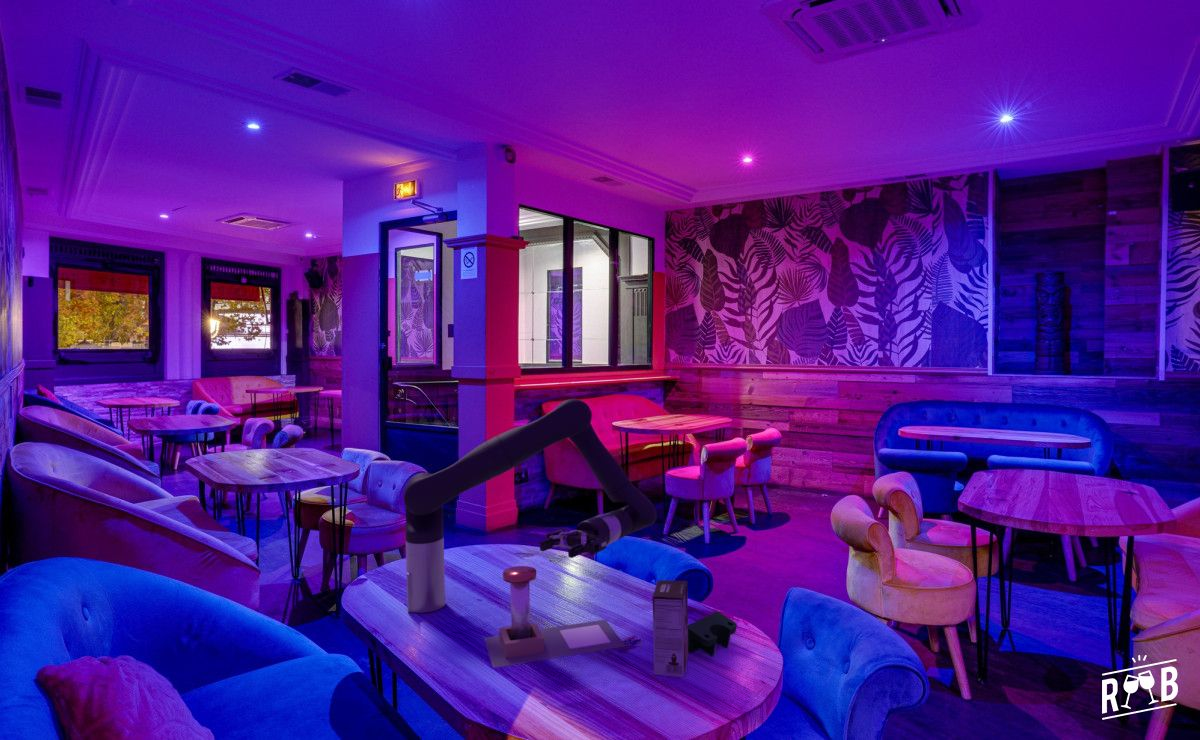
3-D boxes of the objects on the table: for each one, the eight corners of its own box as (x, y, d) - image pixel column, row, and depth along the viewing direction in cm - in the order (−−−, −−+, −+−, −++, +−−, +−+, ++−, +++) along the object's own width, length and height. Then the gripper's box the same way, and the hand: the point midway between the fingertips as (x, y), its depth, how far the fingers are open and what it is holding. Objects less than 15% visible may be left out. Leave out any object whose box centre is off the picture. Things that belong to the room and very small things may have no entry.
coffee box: (658, 653, 138) (657, 578, 137) (688, 656, 137) (688, 580, 136) (653, 675, 129) (652, 595, 128) (685, 678, 128) (684, 597, 127)
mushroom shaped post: (507, 657, 134) (505, 579, 134) (502, 642, 141) (500, 568, 140) (541, 651, 136) (539, 575, 136) (534, 637, 143) (532, 564, 142)
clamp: (705, 676, 137) (702, 647, 132) (683, 660, 141) (679, 631, 137) (740, 639, 143) (738, 611, 139) (718, 625, 147) (716, 596, 143)
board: (493, 675, 130) (492, 653, 130) (483, 644, 143) (483, 624, 143) (625, 653, 138) (625, 632, 138) (605, 625, 152) (605, 606, 151)
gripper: (576, 512, 164) (531, 528, 151) (622, 520, 155) (578, 538, 142) (577, 542, 164) (532, 560, 151) (623, 552, 155) (580, 572, 143)
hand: (555, 550), depth 147 cm, fingers open, 8 cm apart
